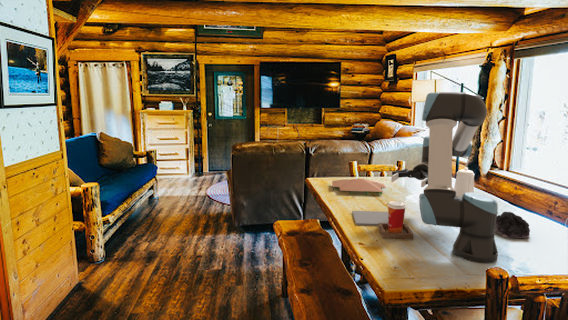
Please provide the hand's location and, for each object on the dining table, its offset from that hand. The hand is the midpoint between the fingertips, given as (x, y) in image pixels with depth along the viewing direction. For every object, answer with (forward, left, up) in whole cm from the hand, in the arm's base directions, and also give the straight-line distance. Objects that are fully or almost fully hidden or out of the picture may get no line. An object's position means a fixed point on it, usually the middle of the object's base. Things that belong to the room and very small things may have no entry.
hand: (406, 181), depth 159 cm
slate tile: (+10, +13, -22) cm, 27 cm away
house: (+63, +14, -23) cm, 68 cm away
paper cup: (-8, +6, -22) cm, 24 cm away
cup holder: (-8, +6, -22) cm, 24 cm away
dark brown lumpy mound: (-3, -45, -22) cm, 51 cm away
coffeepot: (+49, -45, -22) cm, 70 cm away
